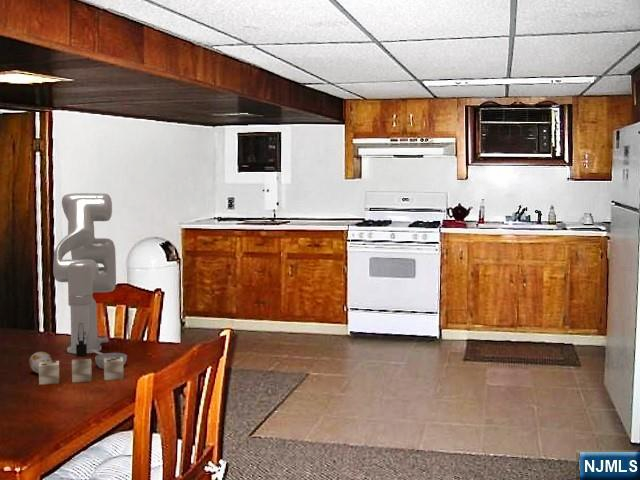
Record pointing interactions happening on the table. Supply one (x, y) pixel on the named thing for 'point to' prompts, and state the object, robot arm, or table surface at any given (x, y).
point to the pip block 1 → (49, 372)
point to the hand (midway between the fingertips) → (81, 356)
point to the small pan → (100, 358)
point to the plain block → (81, 370)
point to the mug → (38, 360)
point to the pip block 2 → (113, 368)
